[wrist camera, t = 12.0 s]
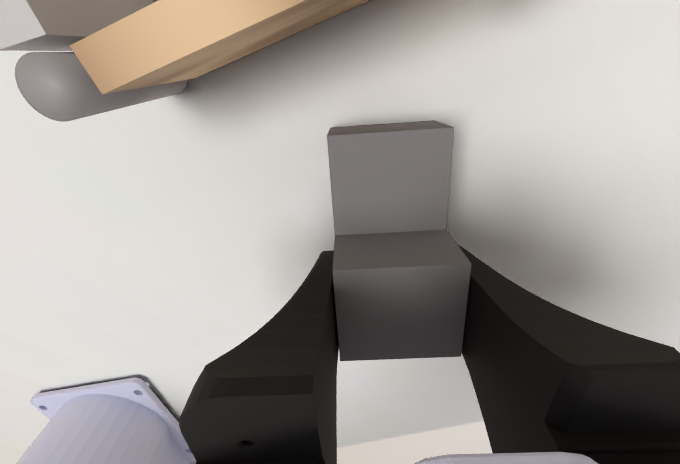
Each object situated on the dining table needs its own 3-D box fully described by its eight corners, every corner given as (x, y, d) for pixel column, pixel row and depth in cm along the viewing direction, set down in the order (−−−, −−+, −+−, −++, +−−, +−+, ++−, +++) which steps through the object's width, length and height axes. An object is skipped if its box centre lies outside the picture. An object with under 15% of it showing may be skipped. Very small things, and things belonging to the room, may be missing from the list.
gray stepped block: (426, 276, 15) (461, 356, 11) (341, 280, 15) (340, 360, 11) (433, 120, 12) (486, 137, 8) (330, 127, 13) (321, 148, 8)
